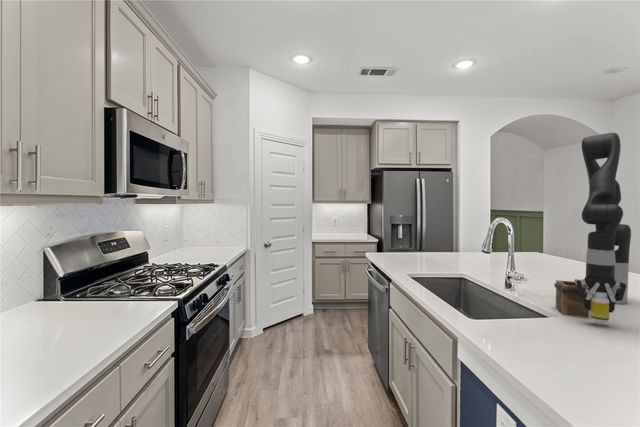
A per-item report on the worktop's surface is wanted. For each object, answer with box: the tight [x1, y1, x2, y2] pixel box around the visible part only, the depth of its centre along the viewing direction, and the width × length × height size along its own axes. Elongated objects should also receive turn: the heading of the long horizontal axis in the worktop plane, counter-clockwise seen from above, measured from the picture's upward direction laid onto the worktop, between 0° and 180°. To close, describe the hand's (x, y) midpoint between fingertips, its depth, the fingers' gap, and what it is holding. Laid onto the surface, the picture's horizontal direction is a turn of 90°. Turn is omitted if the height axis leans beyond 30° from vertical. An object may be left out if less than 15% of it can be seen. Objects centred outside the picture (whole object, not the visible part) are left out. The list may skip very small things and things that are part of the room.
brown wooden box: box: [554, 280, 593, 318], centre depth 126 cm, size 10×10×11 cm
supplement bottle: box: [587, 292, 610, 323], centre depth 112 cm, size 5×5×10 cm
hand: (598, 310), depth 113 cm, fingers closed on supplement bottle, 5 cm apart
